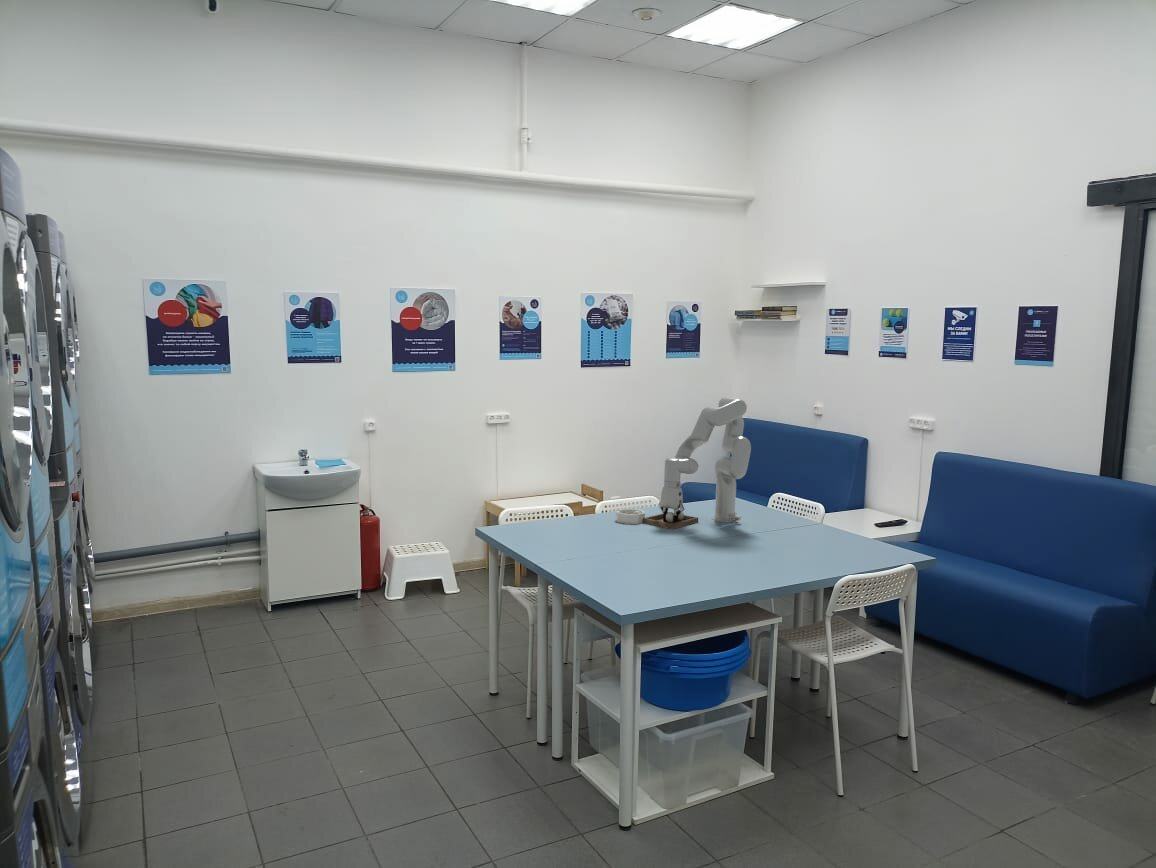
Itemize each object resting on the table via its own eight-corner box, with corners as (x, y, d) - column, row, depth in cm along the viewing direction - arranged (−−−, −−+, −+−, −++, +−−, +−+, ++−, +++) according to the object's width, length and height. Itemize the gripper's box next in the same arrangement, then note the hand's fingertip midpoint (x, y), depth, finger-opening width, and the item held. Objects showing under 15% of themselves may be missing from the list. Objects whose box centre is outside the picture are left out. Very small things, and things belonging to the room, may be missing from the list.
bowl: (649, 522, 386) (649, 512, 386) (632, 526, 377) (632, 516, 376) (628, 517, 395) (628, 507, 394) (611, 521, 386) (611, 511, 385)
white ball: (639, 522, 388) (645, 517, 385) (632, 523, 384) (639, 519, 381) (634, 512, 390) (641, 508, 386) (627, 514, 386) (634, 509, 383)
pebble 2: (685, 520, 388) (686, 510, 388) (679, 522, 385) (680, 511, 384) (677, 518, 392) (677, 508, 391) (671, 520, 388) (671, 510, 388)
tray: (698, 523, 386) (698, 517, 385) (672, 530, 370) (672, 524, 370) (669, 517, 397) (669, 511, 397) (642, 524, 382) (642, 518, 381)
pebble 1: (678, 522, 384) (678, 512, 383) (671, 524, 380) (672, 513, 379) (669, 520, 387) (669, 510, 386) (663, 522, 383) (663, 512, 383)
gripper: (691, 485, 378) (690, 524, 381) (662, 481, 390) (660, 518, 392) (682, 487, 373) (680, 526, 375) (652, 482, 384) (651, 520, 386)
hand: (670, 521), depth 383 cm, fingers closed on pebble 1, 4 cm apart
